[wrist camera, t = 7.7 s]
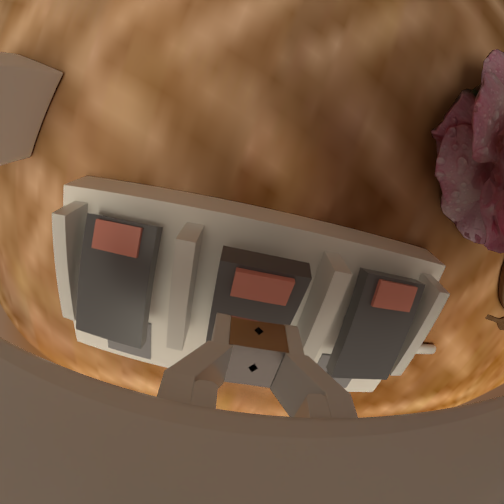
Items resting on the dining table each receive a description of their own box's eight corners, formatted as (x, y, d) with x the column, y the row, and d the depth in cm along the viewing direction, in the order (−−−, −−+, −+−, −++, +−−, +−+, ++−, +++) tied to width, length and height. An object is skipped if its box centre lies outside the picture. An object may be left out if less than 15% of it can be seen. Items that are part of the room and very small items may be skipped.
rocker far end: (165, 227, 16) (156, 226, 14) (148, 338, 17) (139, 351, 15) (99, 214, 16) (84, 212, 14) (87, 321, 16) (73, 330, 14)
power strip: (476, 264, 20) (512, 295, 15) (416, 370, 26) (435, 408, 20) (86, 175, 18) (39, 195, 12) (91, 320, 23) (64, 361, 18)
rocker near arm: (412, 277, 17) (428, 286, 15) (377, 366, 19) (388, 381, 17) (357, 265, 17) (370, 274, 15) (324, 363, 18) (332, 380, 16)
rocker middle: (308, 257, 15) (312, 282, 13) (273, 337, 19) (273, 362, 17) (224, 239, 15) (219, 264, 13) (208, 326, 19) (204, 350, 17)
